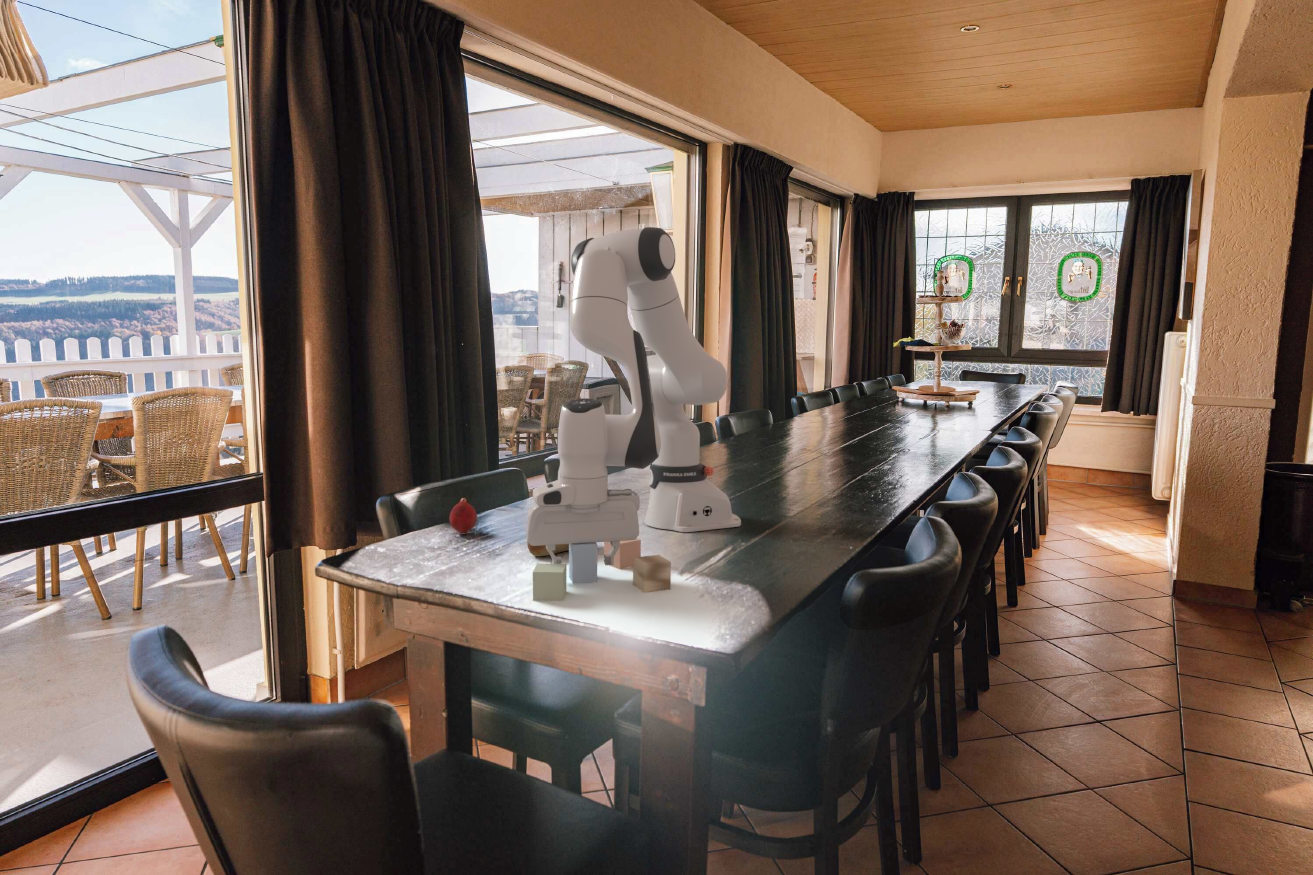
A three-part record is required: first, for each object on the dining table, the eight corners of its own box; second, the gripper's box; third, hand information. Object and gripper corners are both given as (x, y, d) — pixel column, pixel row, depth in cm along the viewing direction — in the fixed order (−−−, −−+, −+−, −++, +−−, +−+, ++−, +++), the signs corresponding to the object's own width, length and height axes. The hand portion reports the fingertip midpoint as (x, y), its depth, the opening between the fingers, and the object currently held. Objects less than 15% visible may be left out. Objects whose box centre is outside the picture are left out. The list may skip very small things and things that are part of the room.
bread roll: (513, 555, 165) (513, 516, 164) (565, 540, 177) (564, 503, 176) (548, 564, 159) (548, 523, 158) (599, 547, 171) (599, 510, 170)
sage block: (566, 591, 143) (566, 563, 142) (563, 601, 138) (562, 572, 137) (537, 591, 143) (537, 563, 142) (533, 601, 138) (532, 571, 137)
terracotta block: (624, 559, 163) (625, 534, 162) (640, 565, 159) (640, 539, 159) (604, 563, 160) (604, 538, 159) (619, 569, 156) (619, 543, 155)
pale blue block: (592, 575, 152) (592, 537, 151) (597, 582, 148) (597, 544, 147) (569, 576, 151) (569, 539, 150) (572, 583, 147) (572, 545, 146)
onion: (470, 538, 178) (469, 501, 177) (445, 536, 179) (444, 500, 178) (481, 531, 183) (480, 496, 182) (457, 530, 184) (456, 495, 183)
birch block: (658, 581, 149) (658, 554, 148) (670, 589, 144) (670, 561, 144) (633, 584, 147) (633, 557, 146) (644, 593, 142) (644, 564, 142)
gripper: (635, 485, 153) (635, 557, 155) (524, 489, 148) (525, 564, 150) (643, 491, 147) (643, 567, 149) (527, 496, 142) (528, 574, 144)
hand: (583, 566), depth 149 cm, fingers open, 8 cm apart
